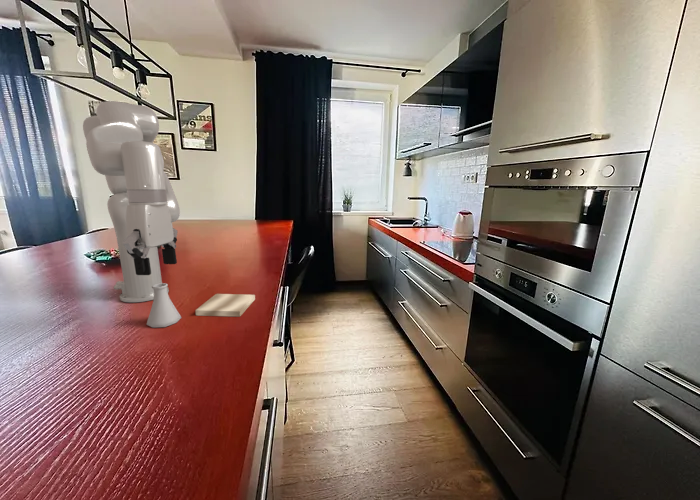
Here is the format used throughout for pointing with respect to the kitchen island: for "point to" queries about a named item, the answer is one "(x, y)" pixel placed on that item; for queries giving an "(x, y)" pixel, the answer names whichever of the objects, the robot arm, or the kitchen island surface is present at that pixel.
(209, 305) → the birch board
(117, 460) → the kitchen island surface
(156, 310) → the flask
